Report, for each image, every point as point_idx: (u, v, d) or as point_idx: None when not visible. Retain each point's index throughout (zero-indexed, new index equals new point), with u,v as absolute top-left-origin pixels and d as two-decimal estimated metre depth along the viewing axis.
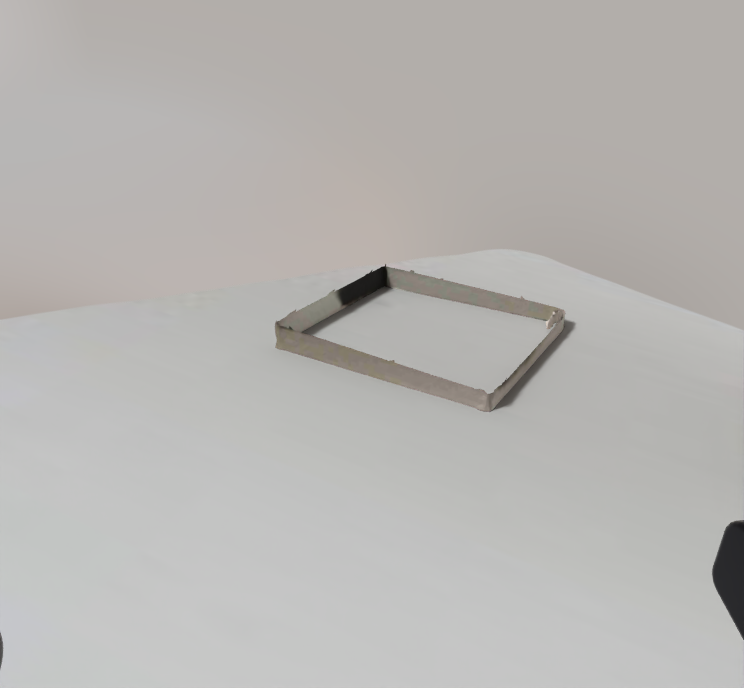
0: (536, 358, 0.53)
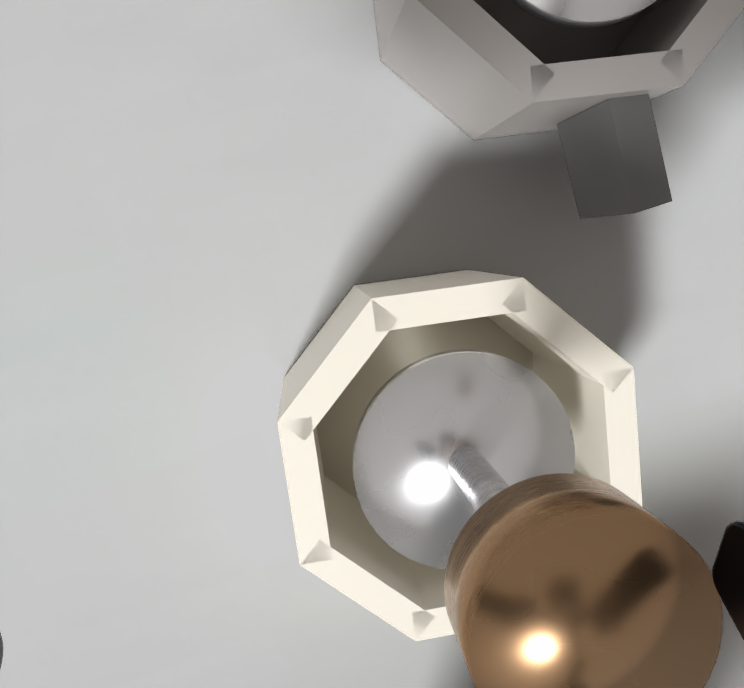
0: None
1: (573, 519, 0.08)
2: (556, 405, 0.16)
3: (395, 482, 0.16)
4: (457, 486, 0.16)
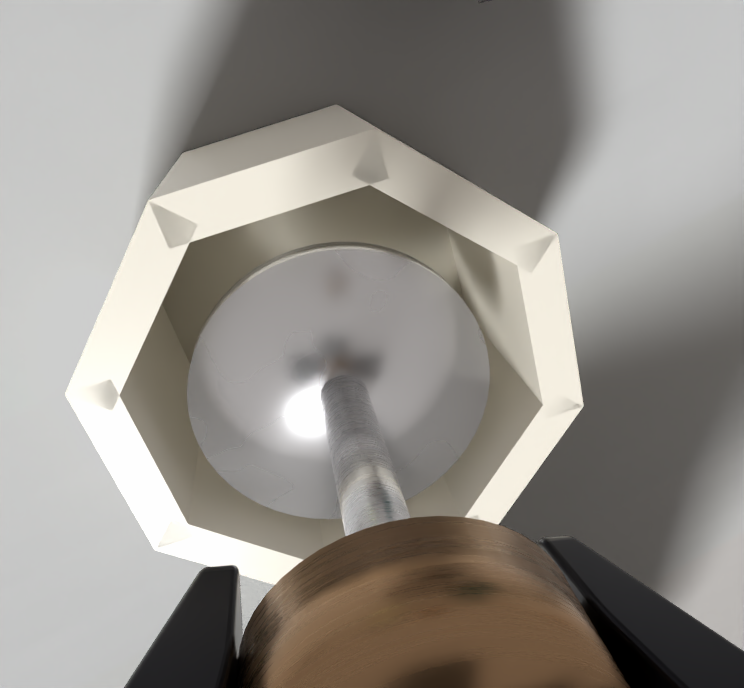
0: None
1: (372, 687, 0.05)
2: (454, 302, 0.11)
3: (253, 435, 0.12)
4: None
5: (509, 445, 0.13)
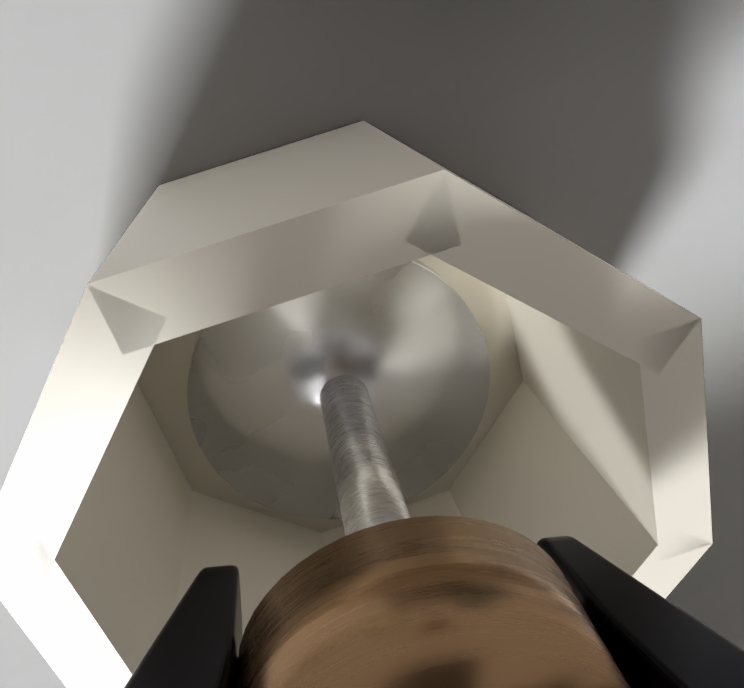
0: None
1: (372, 687, 0.05)
2: (454, 302, 0.11)
3: (252, 435, 0.12)
4: None
5: None
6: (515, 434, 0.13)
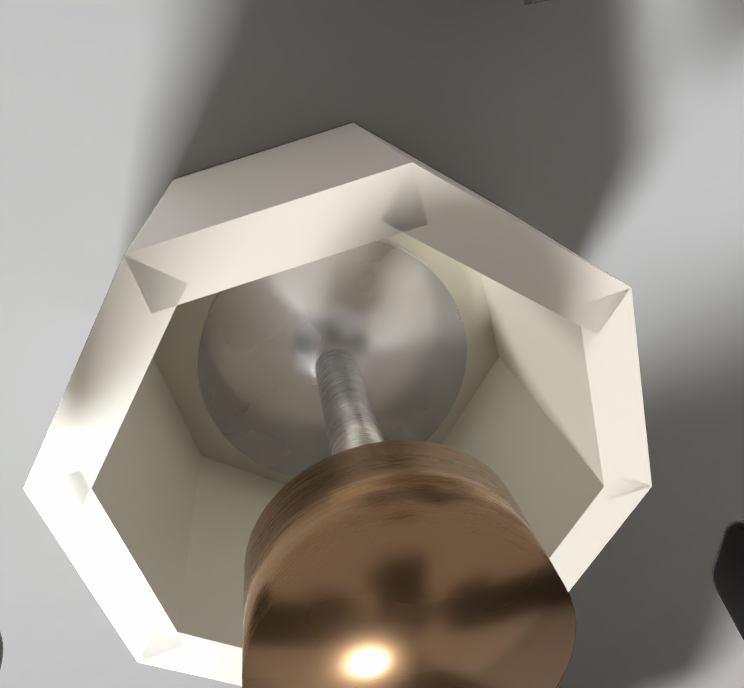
0: None
1: (348, 550, 0.06)
2: (434, 283, 0.13)
3: (256, 402, 0.13)
4: None
5: (561, 531, 0.11)
6: (491, 404, 0.14)
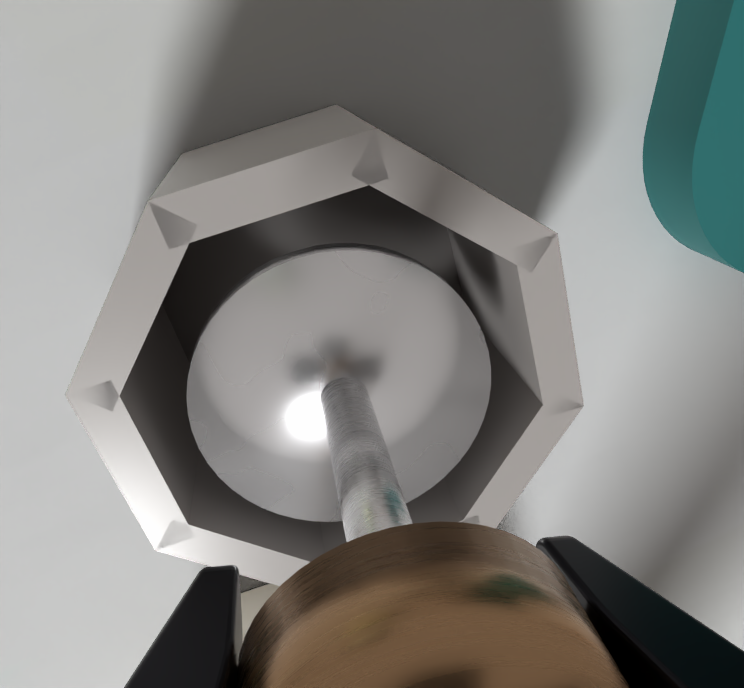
0: None
1: None
2: None
3: None
4: None
5: None
6: None
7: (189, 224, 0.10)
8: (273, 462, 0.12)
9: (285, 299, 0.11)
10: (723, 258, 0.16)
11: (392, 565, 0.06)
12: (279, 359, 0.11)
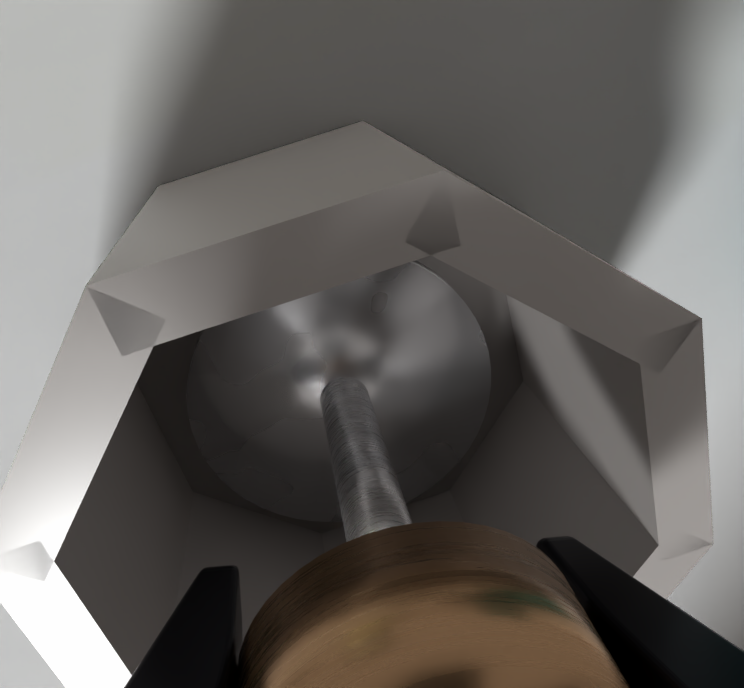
0: None
1: None
2: None
3: None
4: None
5: None
6: None
7: (153, 319, 0.06)
8: (273, 462, 0.12)
9: None
10: None
11: (392, 566, 0.06)
12: (279, 359, 0.11)
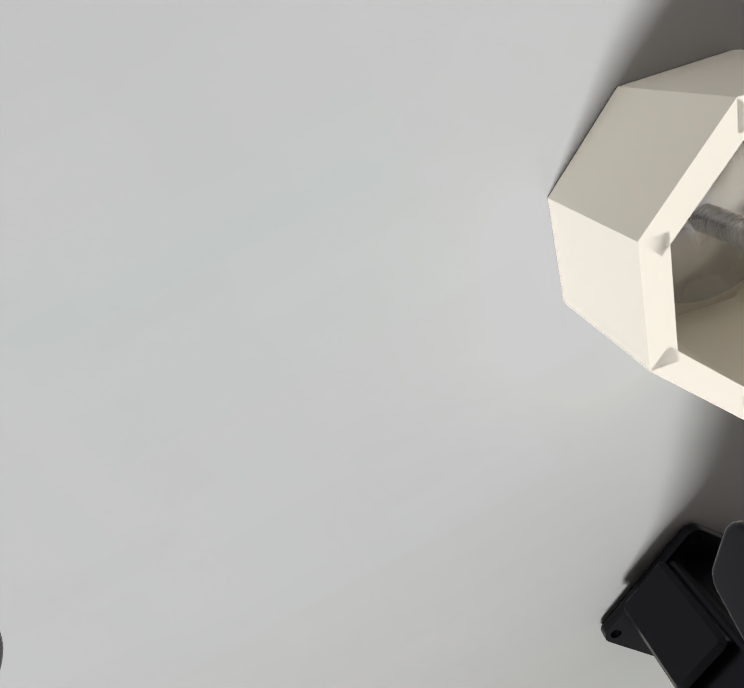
0: None
1: None
2: None
3: None
4: (697, 237, 0.20)
5: None
6: None
7: None
8: None
9: None
10: None
11: None
12: None
